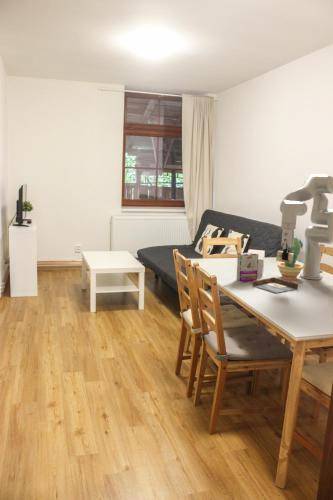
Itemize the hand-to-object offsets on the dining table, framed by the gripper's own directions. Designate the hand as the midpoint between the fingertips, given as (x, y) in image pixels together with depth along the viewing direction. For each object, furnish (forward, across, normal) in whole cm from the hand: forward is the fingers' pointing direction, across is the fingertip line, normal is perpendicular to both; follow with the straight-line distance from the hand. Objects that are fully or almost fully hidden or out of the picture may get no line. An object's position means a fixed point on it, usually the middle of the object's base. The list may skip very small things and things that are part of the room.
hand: (285, 258), depth 235 cm
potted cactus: (+17, +28, +3) cm, 33 cm away
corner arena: (+17, 0, +5) cm, 18 cm away
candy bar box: (+17, +6, +23) cm, 29 cm away
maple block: (+1, 0, +1) cm, 2 cm away
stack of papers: (+18, +36, +26) cm, 48 cm away
